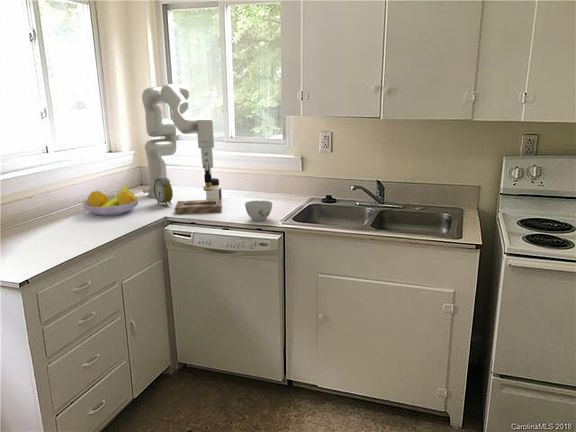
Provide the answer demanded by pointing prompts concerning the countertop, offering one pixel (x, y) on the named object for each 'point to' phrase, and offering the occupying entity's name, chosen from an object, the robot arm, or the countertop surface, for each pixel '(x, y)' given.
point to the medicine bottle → (214, 191)
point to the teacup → (258, 209)
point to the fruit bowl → (110, 202)
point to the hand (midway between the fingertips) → (208, 181)
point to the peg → (208, 185)
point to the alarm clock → (163, 190)
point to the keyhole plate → (198, 206)
